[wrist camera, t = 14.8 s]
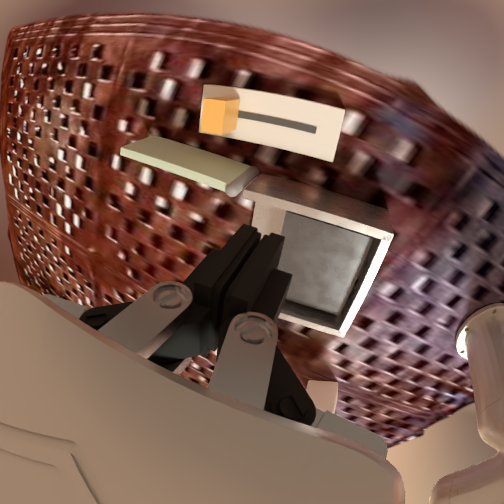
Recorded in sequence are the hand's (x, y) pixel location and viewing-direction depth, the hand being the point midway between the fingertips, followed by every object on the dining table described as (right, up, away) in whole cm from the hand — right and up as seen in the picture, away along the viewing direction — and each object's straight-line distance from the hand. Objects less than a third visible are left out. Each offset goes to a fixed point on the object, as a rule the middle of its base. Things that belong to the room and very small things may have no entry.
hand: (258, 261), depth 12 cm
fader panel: (+2, +16, +19) cm, 25 cm away
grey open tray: (+7, +1, +27) cm, 28 cm away
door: (-7, +13, +24) cm, 28 cm away
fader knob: (-3, +16, +18) cm, 25 cm away
